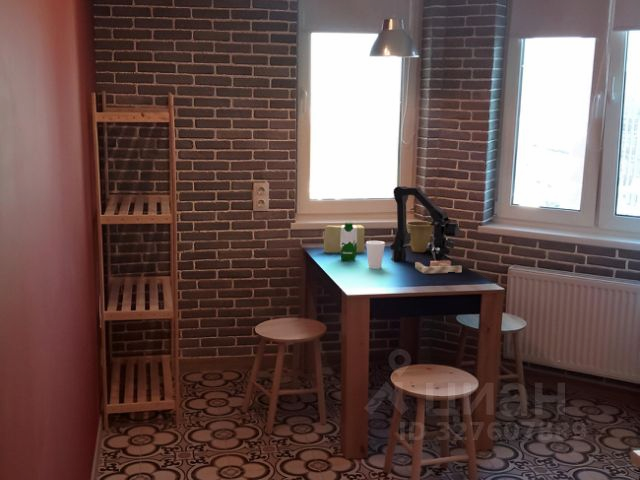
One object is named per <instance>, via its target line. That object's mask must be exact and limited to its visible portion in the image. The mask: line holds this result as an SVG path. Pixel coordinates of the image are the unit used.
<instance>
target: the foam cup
mask: <svg viewBox="0 0 640 480" xmlns="http://www.w3.org/2000/svg"><path fill="white" fill-rule="evenodd" d="M385 246H386V242H385V241H381V240H367V241H366V242H365V248H366V255H367V264H368V268H369V269H372V270H373V269H374V270H376V269H377V270H378V269H381V268H382V264H383V259H384V251H385Z"/></svg>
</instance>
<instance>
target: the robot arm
mask: <svg viewBox="0 0 640 480" xmlns="http://www.w3.org/2000/svg"><path fill="white" fill-rule="evenodd" d="M392 193H393V198H394V200H395V202H396V209H397V210H396V215H397V216H396V220H397V224H396V225H397V231H396V233H395V237H394V241H393V243H391V244H390V245H389V246H390V250H391V251H392V252H391V254H392V255H391V258H390V260H392V261H393V262H407V260H406V259H407V252H406V249H407V248H408V246H409V245H410V241H411V233H408V231H407V201H408V199H409V196H413V197H414V198H415V199H416V200H417V201H419V203H420V204H421V205H422V206H423V207H424V208H425V209H426V210H427V212H428V214H429V216H430V218H431V219H432V222H430V223H431V224H430V225H431V226H433V230H432V232H433V235H431V239H432V242H431V241H429V243H428V244H427V249H430V248H432V249H430V252H431V254H432V257H433V259H434V261H442V257H443V255H450V254H451V250H454V248H455V246H456V242H453V241H451V238H449V237H454V238H458V237H459V235H460V233H461V229H460V226H459V223H457V222H455V223H452V222H451V220H450V218H449V216H448V213H447V212H446V210H445V209H443V208H442V207H440V206H438V205H436V204H435V203H434V202H433V201H432V200H431V199H430V198H429V197H428V195H426V194H425V193H424V192H423V191H422V190H421V188H420V186H411V187H408V186H406V185H400V186H395V188H393V192H392ZM446 236H447V237H446ZM449 248H450V249H451V250H450V249H449Z"/></svg>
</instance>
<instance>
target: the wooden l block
mask: <svg viewBox="0 0 640 480" xmlns="http://www.w3.org/2000/svg"><path fill="white" fill-rule="evenodd" d="M414 269H416V270H418V272H420V273H422V274H423V275H424V274H447V273H448V272H455V273H462V271H463V270H462V269H463V267H462V265H451V266H430V265H429V266H426V265H424V264H422V263H421V262H420V261H416V262H415V263H414ZM448 274H449V273H448Z"/></svg>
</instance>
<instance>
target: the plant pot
mask: <svg viewBox="0 0 640 480" xmlns="http://www.w3.org/2000/svg"><path fill="white" fill-rule="evenodd" d="M406 223H407V231H408V233H411V241H410V244H409V245H410V247H411V251H412V252H413V253H414V252H415V253H425V252H426V251H427V249H428V248H427V244H428V243H429V242H431V241H430V240H431V238H432V232H433V230H434V226H431V225H430V224H431V223H432V222H429V221H425V220H424V221H422V220H418V221H417V220H416V221H415V220H414V221H408V222H407V221H406Z"/></svg>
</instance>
